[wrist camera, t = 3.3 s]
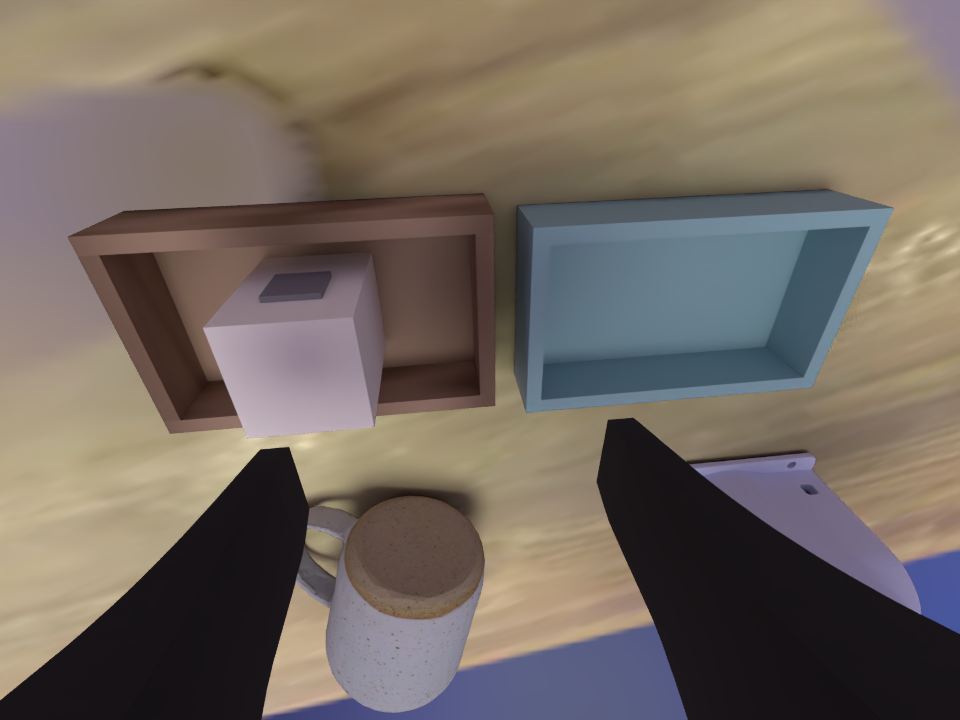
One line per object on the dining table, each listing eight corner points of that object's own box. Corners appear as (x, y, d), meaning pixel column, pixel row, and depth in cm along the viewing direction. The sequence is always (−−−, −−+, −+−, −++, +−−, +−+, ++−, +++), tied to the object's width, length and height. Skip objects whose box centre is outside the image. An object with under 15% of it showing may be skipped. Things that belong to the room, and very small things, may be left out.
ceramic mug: (484, 489, 25) (502, 630, 19) (458, 575, 30) (465, 715, 23) (286, 473, 23) (230, 624, 17) (288, 568, 28) (244, 719, 21)
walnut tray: (483, 193, 17) (493, 214, 14) (486, 365, 21) (495, 405, 18) (123, 211, 16) (67, 237, 13) (202, 388, 20) (170, 433, 17)
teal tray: (828, 189, 18) (894, 208, 16) (767, 352, 22) (811, 387, 20) (517, 205, 17) (533, 227, 15) (514, 372, 21) (526, 412, 19)
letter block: (370, 246, 17) (351, 311, 12) (386, 342, 19) (374, 427, 15) (261, 252, 17) (200, 321, 12) (289, 349, 19) (247, 438, 14)
